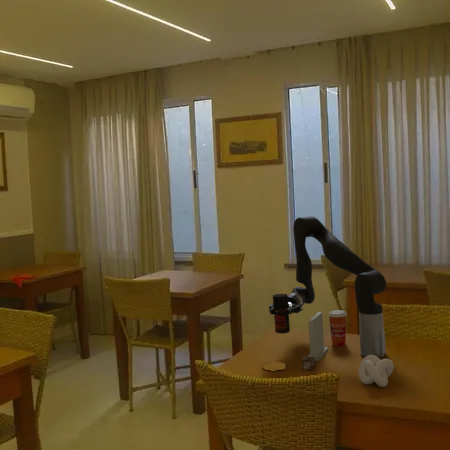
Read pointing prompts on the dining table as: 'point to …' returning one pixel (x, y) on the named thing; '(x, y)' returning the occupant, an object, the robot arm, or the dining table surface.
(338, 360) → the dining table surface
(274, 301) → the deodorant
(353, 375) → the dining table surface
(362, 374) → the white knot sculpture
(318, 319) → the screen
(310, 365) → the letter cube
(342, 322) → the paper cup
